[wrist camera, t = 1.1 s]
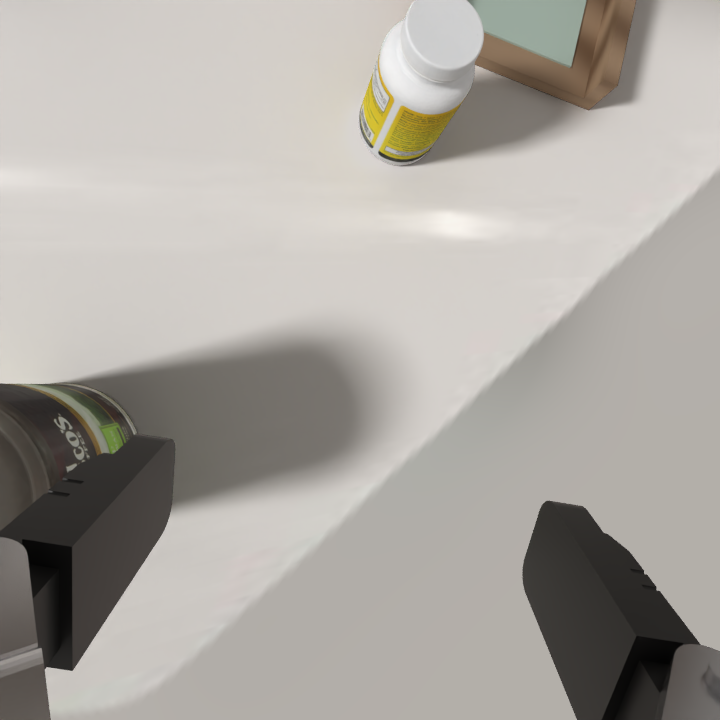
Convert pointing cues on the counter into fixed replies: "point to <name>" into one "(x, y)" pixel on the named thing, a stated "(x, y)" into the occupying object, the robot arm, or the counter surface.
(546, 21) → the front pad
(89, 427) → the coffee can
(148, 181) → the counter surface
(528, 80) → the tray
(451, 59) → the pill bottle
